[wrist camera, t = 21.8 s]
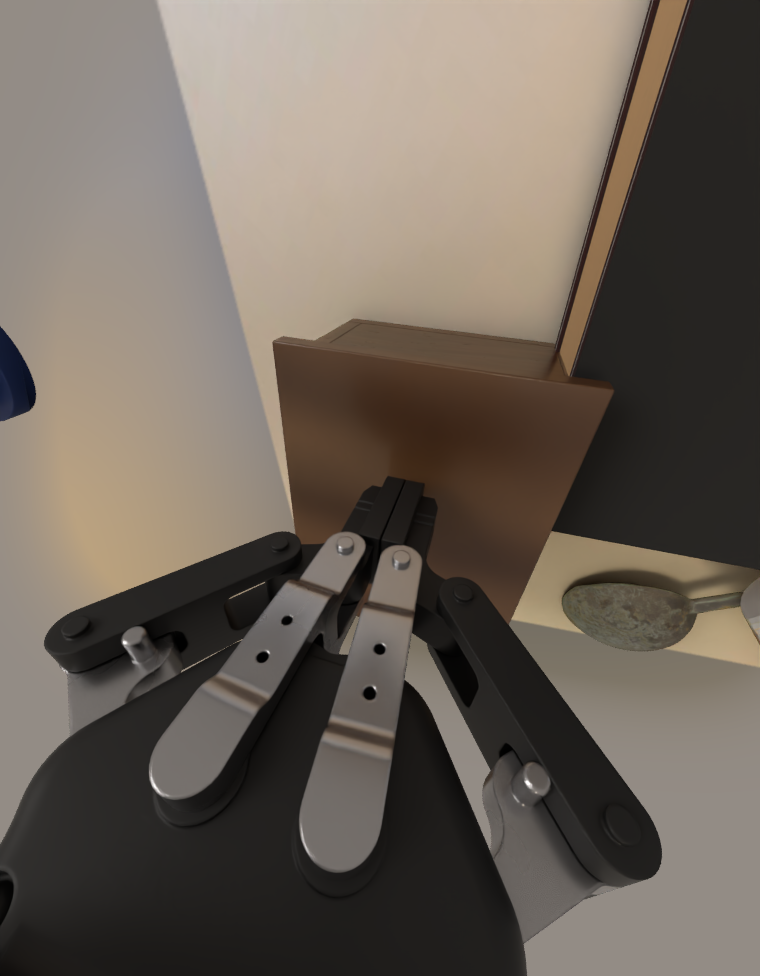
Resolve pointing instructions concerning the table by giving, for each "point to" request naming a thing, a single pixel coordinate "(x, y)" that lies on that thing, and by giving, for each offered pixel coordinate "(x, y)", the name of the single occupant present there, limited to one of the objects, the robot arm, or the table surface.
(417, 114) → the table surface
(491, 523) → the lid
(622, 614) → the soupspoon
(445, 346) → the box
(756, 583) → the toy
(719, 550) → the book
